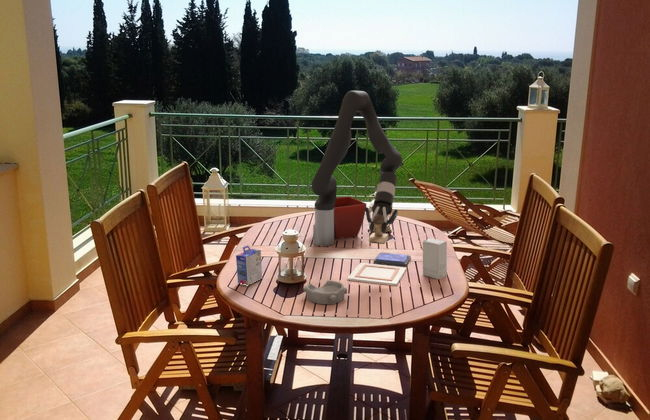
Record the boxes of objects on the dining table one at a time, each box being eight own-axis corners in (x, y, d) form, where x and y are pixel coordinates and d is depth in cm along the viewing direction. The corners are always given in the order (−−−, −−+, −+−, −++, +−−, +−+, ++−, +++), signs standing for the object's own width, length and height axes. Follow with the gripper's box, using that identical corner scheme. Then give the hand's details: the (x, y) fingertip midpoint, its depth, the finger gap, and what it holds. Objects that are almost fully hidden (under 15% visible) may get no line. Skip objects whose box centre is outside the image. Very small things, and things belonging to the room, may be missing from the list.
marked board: (347, 280, 251) (347, 277, 251) (360, 264, 270) (360, 262, 270) (396, 285, 245) (396, 283, 245) (406, 269, 264) (406, 266, 264)
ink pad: (373, 263, 272) (373, 259, 271) (379, 255, 282) (379, 251, 281) (405, 266, 267) (406, 262, 267) (410, 258, 277) (410, 254, 277)
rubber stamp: (369, 243, 252) (368, 215, 249) (372, 238, 258) (372, 212, 255) (384, 244, 250) (384, 216, 247) (388, 239, 256) (388, 212, 253)
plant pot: (315, 232, 318) (315, 199, 314) (349, 227, 326) (349, 196, 322) (331, 242, 302) (331, 207, 298) (367, 237, 309) (367, 204, 305)
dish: (299, 298, 233) (298, 285, 232) (325, 289, 242) (325, 276, 241) (326, 309, 223) (326, 296, 222) (353, 299, 232) (353, 286, 231)
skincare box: (446, 276, 256) (448, 241, 252) (437, 280, 252) (439, 244, 248) (430, 271, 261) (431, 237, 258) (421, 274, 257) (422, 239, 254)
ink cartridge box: (251, 277, 255) (250, 242, 251) (262, 279, 252) (262, 244, 249) (236, 284, 247) (235, 249, 243) (247, 287, 244) (246, 251, 240)
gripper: (366, 189, 258) (358, 225, 250) (400, 191, 254) (393, 228, 246) (369, 199, 265) (361, 234, 256) (403, 201, 260) (396, 237, 252)
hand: (377, 231), depth 251 cm, fingers closed on rubber stamp, 4 cm apart
